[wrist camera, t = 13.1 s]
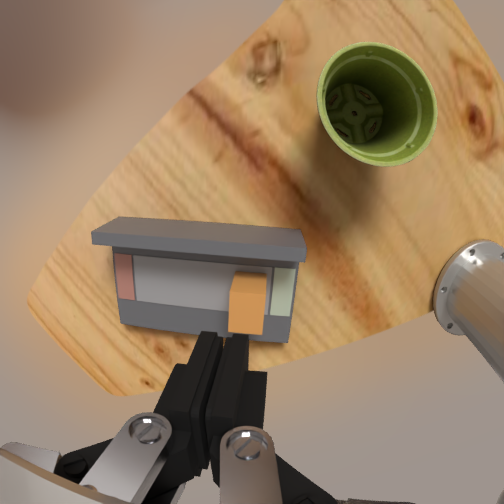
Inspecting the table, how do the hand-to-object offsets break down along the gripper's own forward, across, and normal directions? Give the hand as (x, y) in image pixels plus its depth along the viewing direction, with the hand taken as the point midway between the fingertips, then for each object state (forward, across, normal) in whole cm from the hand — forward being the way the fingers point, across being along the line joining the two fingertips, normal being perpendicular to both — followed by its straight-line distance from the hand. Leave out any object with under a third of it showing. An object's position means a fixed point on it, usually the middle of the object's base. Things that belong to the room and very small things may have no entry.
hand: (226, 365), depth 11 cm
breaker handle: (+19, +1, +6) cm, 20 cm away
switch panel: (+21, +6, +6) cm, 23 cm away
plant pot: (+22, -8, -12) cm, 26 cm away
